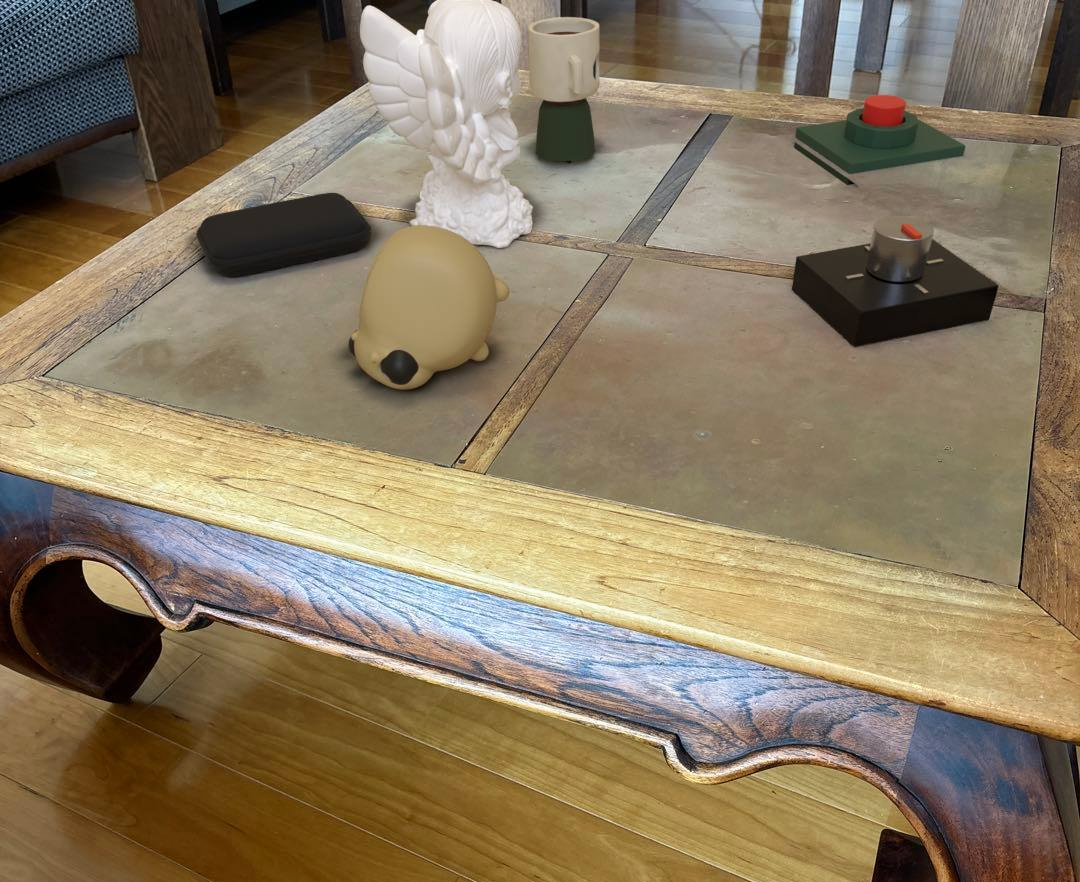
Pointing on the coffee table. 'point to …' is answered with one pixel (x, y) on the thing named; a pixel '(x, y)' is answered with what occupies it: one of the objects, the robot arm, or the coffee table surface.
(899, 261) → the dimmer knob
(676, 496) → the coffee table surface
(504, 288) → the tan pug toy
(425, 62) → the cherub figurine
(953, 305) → the dimmer panel
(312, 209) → the carrying case
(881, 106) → the light button
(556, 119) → the character mug
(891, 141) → the lamp switch
